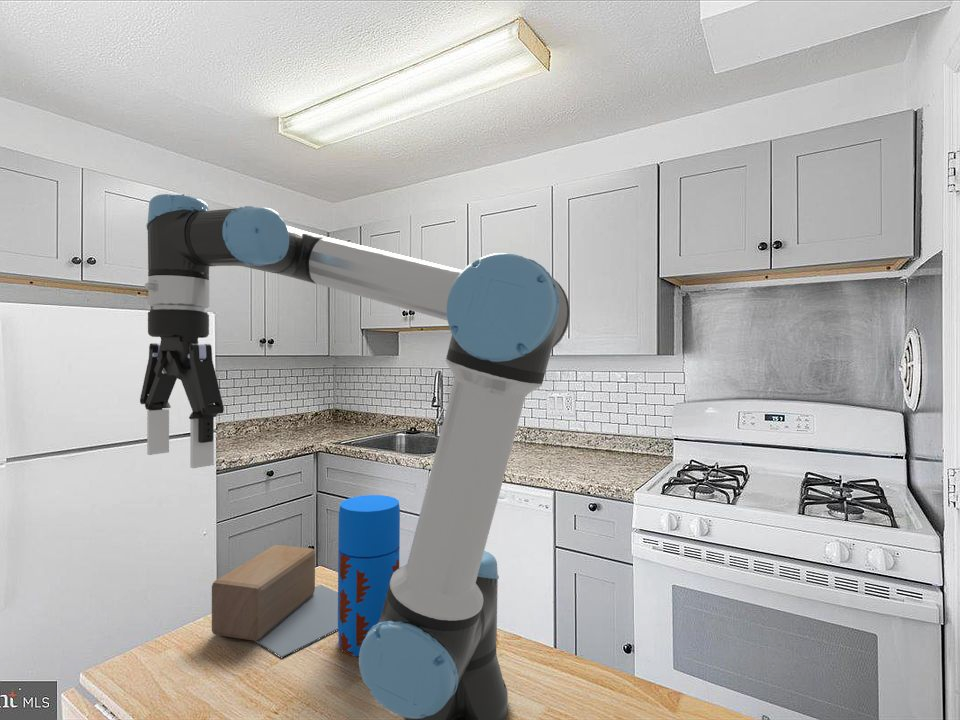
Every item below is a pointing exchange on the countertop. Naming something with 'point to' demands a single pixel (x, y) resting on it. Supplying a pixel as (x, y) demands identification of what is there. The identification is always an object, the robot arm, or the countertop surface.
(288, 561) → the block
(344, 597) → the thermos
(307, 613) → the mat
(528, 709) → the countertop surface
